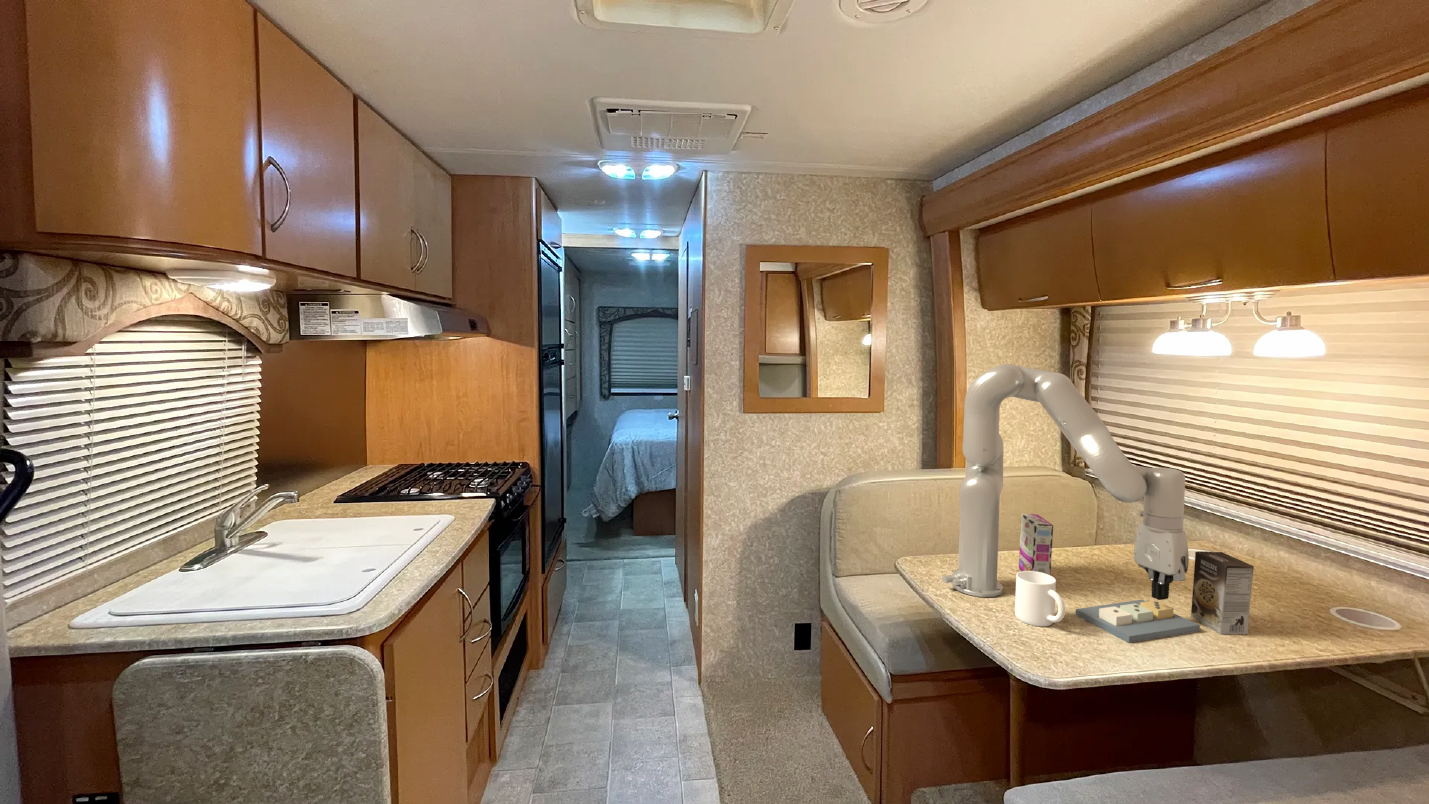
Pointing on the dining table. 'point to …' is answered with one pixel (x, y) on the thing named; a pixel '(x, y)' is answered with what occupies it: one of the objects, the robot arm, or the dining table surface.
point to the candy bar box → (1035, 544)
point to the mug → (1037, 599)
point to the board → (1139, 624)
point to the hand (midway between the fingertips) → (1159, 597)
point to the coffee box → (1222, 592)
